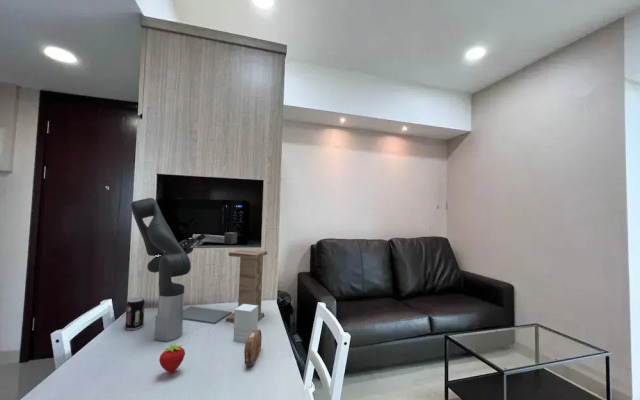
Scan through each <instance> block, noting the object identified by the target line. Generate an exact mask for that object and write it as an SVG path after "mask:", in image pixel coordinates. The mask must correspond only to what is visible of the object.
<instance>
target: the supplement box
mask: <svg viewBox="0 0 640 400" xmlns="http://www.w3.org/2000/svg"><path fill="white" fill-rule="evenodd" d="M233 311H234V312H233V313H234V323H233V341H234V342H235V341H236V342H241V343H246V341H247V339H248V337H249V336H250V334H251V332H252V331H253V330H259V329H258V328H259V321H258V305H249V304H242V305H241V306H239V307H238V306H237V307H236V308H234V310H233Z"/></svg>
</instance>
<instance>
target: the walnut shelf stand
mask: <svg viewBox="0 0 640 400" xmlns="http://www.w3.org/2000/svg"><path fill="white" fill-rule="evenodd" d="M267 255H268V251H265V250H250V249H249V250H248V249H239V250H236V251H235V250H234V251H231V252H229V253H228V256H229V257H234V258H235V257H237V258H240V259H239V261H240V262H239V280H238V281H239V282H238V283H239V284H238V301H237V308H238V307H239V306H241V305H242V304H249V305H258V322H259V321H260V320H262V319H263V318H264V317H265V312H262V296H263V295H262V294H263V291H262V290H263V272H264V271H263V268H264V256H267ZM225 322H226V323H233V324H234V312H233V313H231V314H230V315H228V316H227V317H225Z"/></svg>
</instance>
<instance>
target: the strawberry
mask: <svg viewBox="0 0 640 400" xmlns="http://www.w3.org/2000/svg"><path fill="white" fill-rule="evenodd" d="M172 342H173V343H174V344H173V343H172V344H170V347H167V348H163V350H164V351H163V352H162V353H161V354H160V356H159V360H158V361H159V364H160V367H162V369H163V370H164V371H166V372H167V373H168V374H170V375H172V374H174V373H175V372H176V371H177V369H179V367H180V365H181V364H182V362H183V361H184V358H185V355H186V351H185V349H184V348H183V345H181V344H180V345H178V344H176V343H175V341H174V340H172Z"/></svg>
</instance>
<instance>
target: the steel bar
mask: <svg viewBox="0 0 640 400" xmlns="http://www.w3.org/2000/svg"><path fill="white" fill-rule="evenodd" d="M201 234H202V233H201ZM201 234H198V233H197V234H196V233H193V234H192V238H195V237H198V236H200V235H201ZM204 235H205V234H204ZM200 241H205V242H207V243H210V242H211V243H221V244H228V245H229V244H231V245H232V244H237V243H238V232H232V231H231V232H230V231H229V232H224V234H223V235H215V234H214V235H212V234H209V235H205V238H204V239H202V240H200Z"/></svg>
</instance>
